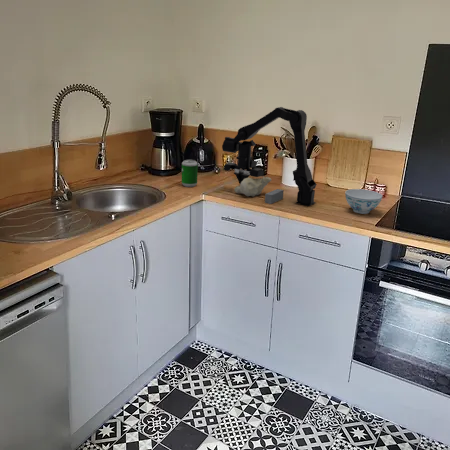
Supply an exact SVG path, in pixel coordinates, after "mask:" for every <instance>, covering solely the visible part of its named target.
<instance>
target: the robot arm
mask: <svg viewBox="0 0 450 450" xmlns="http://www.w3.org/2000/svg"><path fill="white" fill-rule="evenodd" d="M307 115H308V114H307V113H306V112H305V111H304V110H303V109H298V110H294V109H290V108H286V107H283V106H279V107H278V106H277V107H275V108H274V109H273V110H272V111H270V112H269V113H267V114H265V115H263V117H261V118H259V119H258V120H256V121H254V122H253V123H250V124H248V125H244V126H242V127H240V128H238V130H237V134H236V135H235V137H230V136H225V137H224V140H223V142H222V145H221V149H222V151H223V152H225V153H230V154H231V153H232V154H236V153H238V154H237V156H236V160H237V163H234V162H228V163H225V164H224V166H223V170H224V171H227V172H230V171H231V170H233V171H234V172H233V175H235V177H236V179H237V180H238V183H239V185H240V184H241V182H242V181H243V180H244V179H245V178H250V177H254V178H258V177H262V176H264V173H265V171H264V169H263V168H260V167H257V164H258V161H256V160H253V156H251V154H252V147H254V146H256V145H257V144H256V142H255V141H254V139H252V138H253V137H255V136H256V135H257V134H258V132H259V131H260V130H261V129H264V128H265V127H267V126H268V125H269V124H272V123H273V122H275V121H276V120H278V119H282V120H284V121H287V122H289V126H290V128H291V130H292V132H293V138H294V148H295V159H296V168H295V169H294V170H293V171H292V174H293V175H292V176H293V180H292V181H294V183H295V185H296V186H297V189H298V192H297V196H296V201H295V204H299V205H303V206H307V207H310V206H312V205H314V204H316V202H315V193H316V190H315V189H316V187H317V186H318V185H317V184H318V183H316V182H315V180H314V179H313V176H312V172H311V168H310V167H309V164H308V157H307V154H308V153H307V145H306V144H307V143H306V134H305V131H306V128H307V118H308V117H307ZM251 139H252V140H251ZM248 140H250V141H248Z"/></svg>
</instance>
